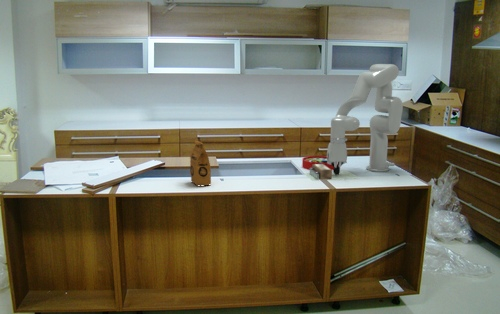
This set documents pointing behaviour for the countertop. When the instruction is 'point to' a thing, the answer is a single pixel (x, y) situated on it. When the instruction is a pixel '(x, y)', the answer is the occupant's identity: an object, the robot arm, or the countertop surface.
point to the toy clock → (315, 161)
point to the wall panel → (336, 176)
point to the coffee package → (200, 165)
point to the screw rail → (314, 173)
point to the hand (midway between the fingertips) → (336, 174)
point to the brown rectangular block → (322, 171)
